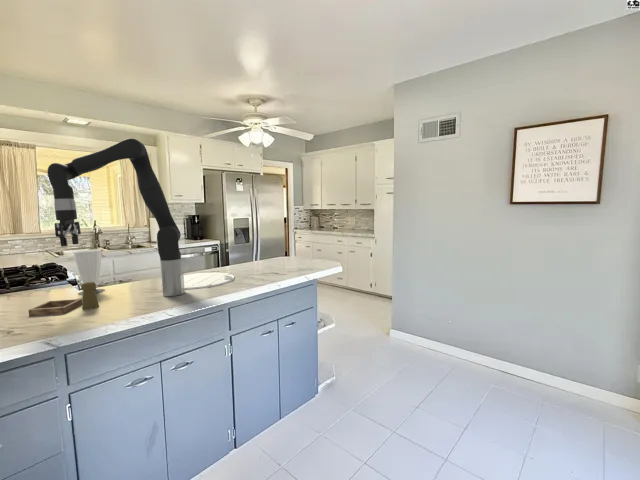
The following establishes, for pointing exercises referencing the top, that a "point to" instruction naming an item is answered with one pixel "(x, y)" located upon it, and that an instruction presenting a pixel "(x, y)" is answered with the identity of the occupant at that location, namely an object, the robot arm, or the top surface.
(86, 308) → the olive brown tapered block
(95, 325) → the top surface
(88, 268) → the cup
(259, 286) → the top surface
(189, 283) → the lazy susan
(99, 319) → the top surface
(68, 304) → the box
